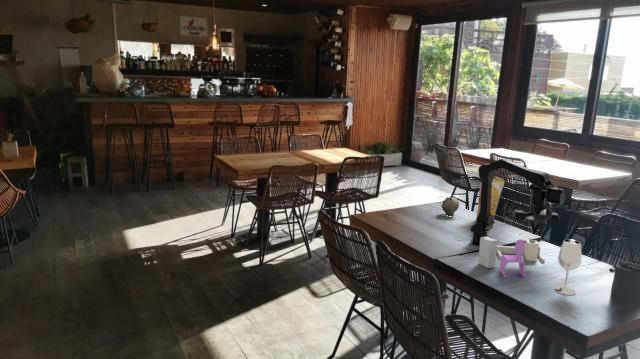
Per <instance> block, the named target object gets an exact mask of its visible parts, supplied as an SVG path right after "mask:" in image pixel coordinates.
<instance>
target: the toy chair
mask: <svg viewBox="0 0 640 359" xmlns="http://www.w3.org/2000/svg"><path fill="white" fill-rule="evenodd" d="M525 243H526V240H523V239H518V240H516V241H515V246H514V247H515V251H516V252H517V254H502V257H501V259H500V261H499V262H500V263H499V265H500V266H499V272H500V273H501V275H503V277H504V278H507V276H506V270H505V269H506V266H507V264H509V263H511V264H512V263H518V266H519V267H518V273H519V274H520V275H521V277H522V278H524V279H526V275H525V263H524V262H525V261H524V259H523V260H522V259H521V258H522V256H523V255H522V254H523V252H524V249H525Z"/></svg>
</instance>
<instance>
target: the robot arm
mask: <svg viewBox="0 0 640 359" xmlns="http://www.w3.org/2000/svg"><path fill="white" fill-rule="evenodd" d="M501 169H504V170H505V171H509V172H511V173H513V174H516V176H520V177H523V178H524V179H525V180H527V181H528V182H529V183H530V186H527V190H530V191H531V197H530V201H529V202H530V203H529V204H530V206H529V210H528V212H524V210H523V209H522V210H521V209H514V210H513V211H512V217H513V218H514V219H517V220H523V219H526V220H527V222H529V226H530V228H531V229H530V230H531V233H532V235H536V233H537V232H538V229H539V228H540V227H541V225H542V224H543V223H545V224H546V221H547V219H549V220H551V221H552V222H554V223H555V222H556V223H560V221H561V216H560V215H559V214H558V213H557V212H553V211H552V210H551V209H546V204H545V203H546V202H547V203H548V204H553V205H559V206H563V204H564V203H565V201H566V195H565V193H566V192H565V189H564V188H557V187H556V188H555V187H554V185H553V183H552V181H551V180H550V176H549V173H548V172H545V171H541V170H536V169H530V168H528V167H526V166H524V165H520V164H518V163H516V162H513V161H511V160H509V159H507V158H499V159H498V160H496V161H492V162H490V163H484V164H481V165H480V166H479V167H478V169H477V170H478V178H479V179H480V185H481V201H480V212H479V214H478V216H477V215H476V217H477V220H476V219H475V224H473V225H472V226H470V232H471V233H472V236H471V239H470V242H471V244H472V245H473V246H480V238H481V237H489V236H488V232H489V230H490V229H491V227H492V226H493V227H494V224H495V217H496V216H495V215H492V214H491V212H490V208H491V190H492V181H493V179H494V177H495V176H496V173H497V171H499V170H501Z"/></svg>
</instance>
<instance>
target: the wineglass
mask: <svg viewBox="0 0 640 359" xmlns="http://www.w3.org/2000/svg"><path fill="white" fill-rule="evenodd" d="M557 256H558V257H557V260H558V261H557V262H558V264H559V265H560V266H561V268H563V269H564V270H565V280H564V281H565V282H564V285H563V286H562V285H561V286H560V285H558V286H555V287H554V288H553V289H554V291H555V292H557V293H559V294H562V295H566V296H574V295H576V294H577V291H575V290H574V289H573V288H571V287H569V286H568V279H569V275H570V271H571V272H572V271H575V270H577V269H578V268H579V267H580V266H581V264H582V256H583V255H582V243H581V242H580V241H579V240H576V239H571V238H566V239H564V240H563V242H562V244H561V247H560V249H559V252H558V255H557Z"/></svg>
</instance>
